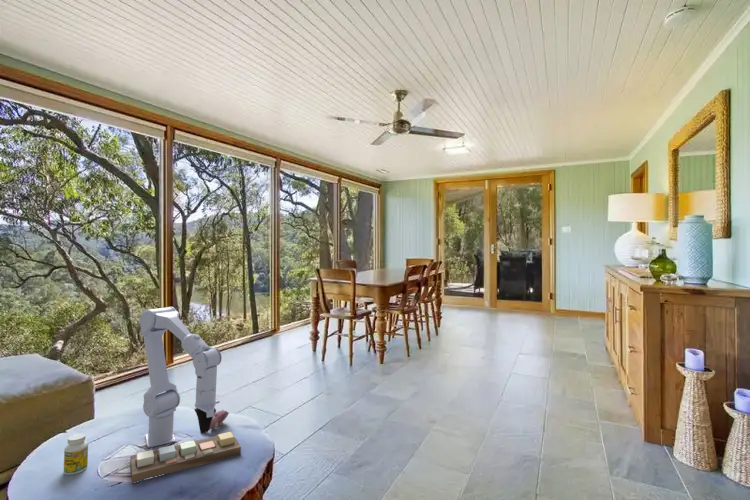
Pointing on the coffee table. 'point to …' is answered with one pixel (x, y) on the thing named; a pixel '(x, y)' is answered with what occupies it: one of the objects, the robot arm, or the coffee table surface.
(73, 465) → the supplement bottle
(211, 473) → the coffee table surface
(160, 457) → the bluegrey key
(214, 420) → the video game controller
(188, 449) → the sage key
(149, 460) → the offwhite key
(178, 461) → the keypad
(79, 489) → the coffee table surface
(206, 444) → the terracotta key
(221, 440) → the ochre key
